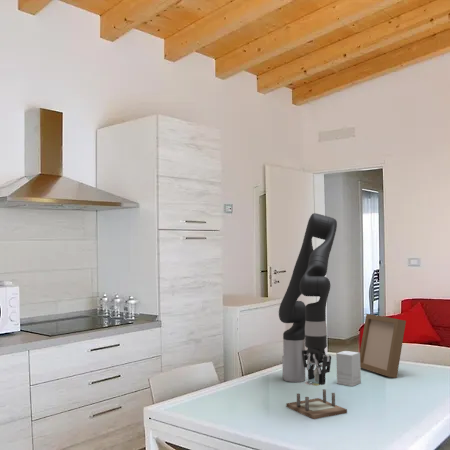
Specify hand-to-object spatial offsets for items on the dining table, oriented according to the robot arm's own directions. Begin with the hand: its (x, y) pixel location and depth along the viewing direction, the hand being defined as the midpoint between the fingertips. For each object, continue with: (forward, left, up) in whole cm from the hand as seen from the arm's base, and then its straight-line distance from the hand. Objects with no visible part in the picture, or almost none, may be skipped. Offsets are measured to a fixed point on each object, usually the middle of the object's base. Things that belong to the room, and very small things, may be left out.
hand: (316, 382), depth 191 cm
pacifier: (-1, 0, -1) cm, 1 cm away
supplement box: (-23, +34, -10) cm, 42 cm away
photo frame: (-31, +62, -10) cm, 70 cm away
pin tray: (0, 0, -9) cm, 9 cm away
